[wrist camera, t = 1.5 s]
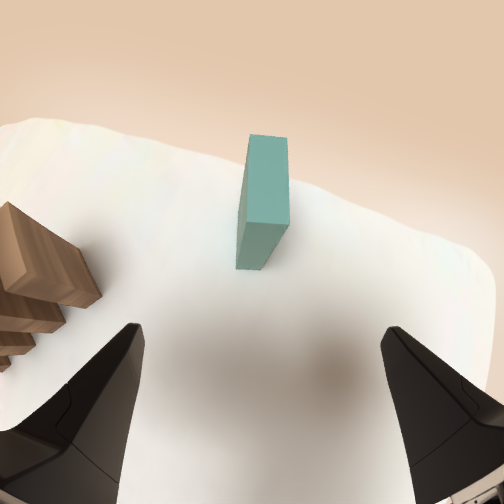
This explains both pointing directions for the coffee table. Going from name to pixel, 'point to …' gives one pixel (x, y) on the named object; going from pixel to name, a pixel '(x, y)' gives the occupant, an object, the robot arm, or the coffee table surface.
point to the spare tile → (262, 201)
